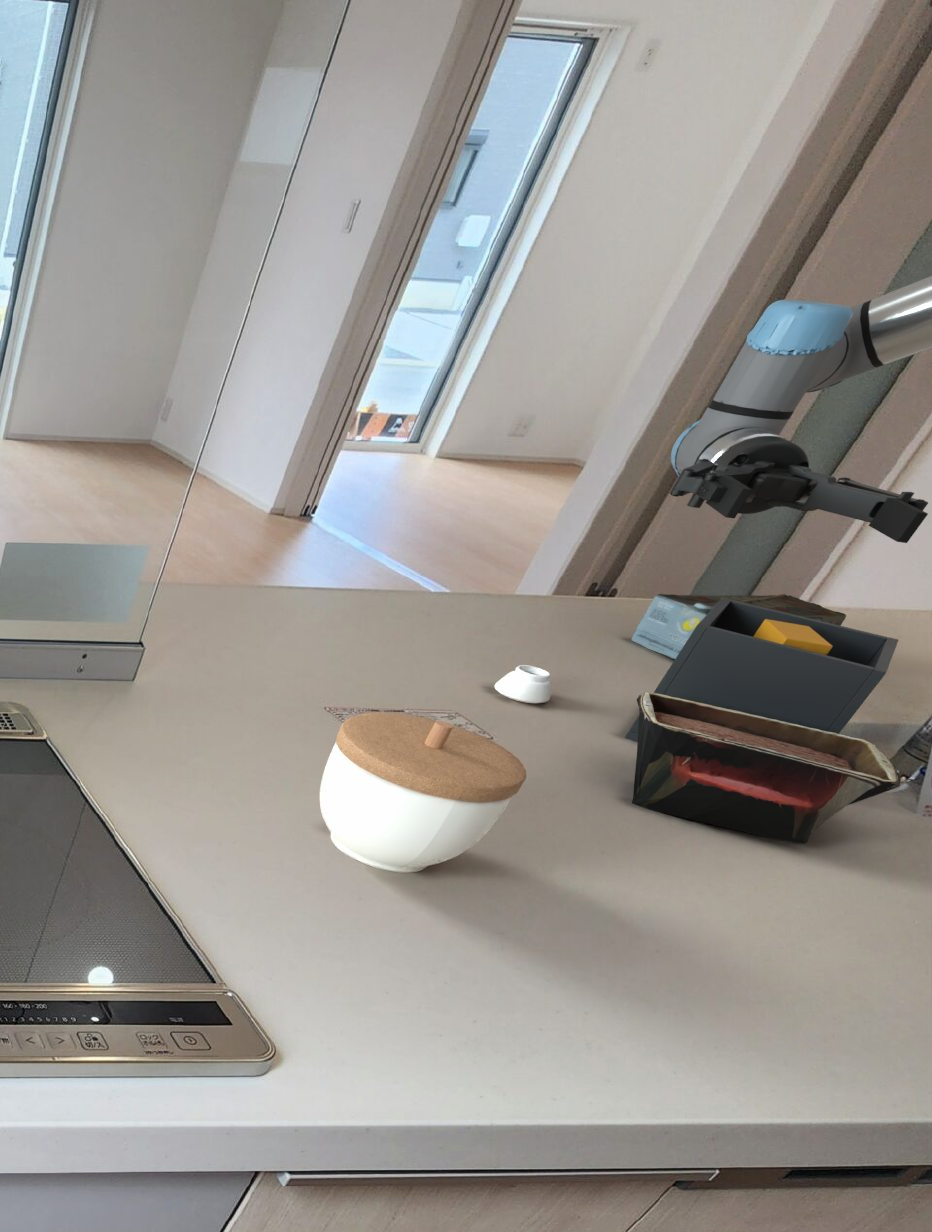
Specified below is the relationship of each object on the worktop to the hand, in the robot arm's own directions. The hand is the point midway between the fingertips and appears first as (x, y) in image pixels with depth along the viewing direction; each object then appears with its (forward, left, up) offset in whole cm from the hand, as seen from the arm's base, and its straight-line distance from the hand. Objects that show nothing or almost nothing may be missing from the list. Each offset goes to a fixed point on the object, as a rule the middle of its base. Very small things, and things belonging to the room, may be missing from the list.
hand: (824, 515), depth 102 cm
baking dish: (-6, +26, -21) cm, 33 cm away
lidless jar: (+13, +13, -21) cm, 28 cm away
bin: (-4, +9, -20) cm, 22 cm away
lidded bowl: (+11, +61, -21) cm, 65 cm away
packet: (-4, +9, -20) cm, 22 cm away
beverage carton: (+1, -26, -21) cm, 34 cm away
